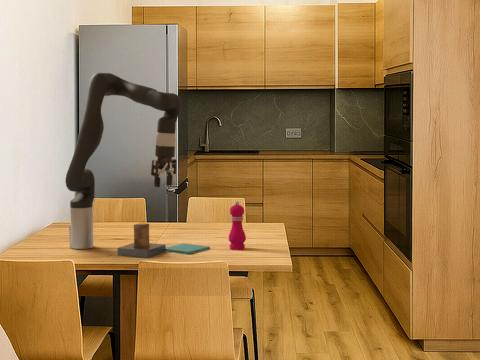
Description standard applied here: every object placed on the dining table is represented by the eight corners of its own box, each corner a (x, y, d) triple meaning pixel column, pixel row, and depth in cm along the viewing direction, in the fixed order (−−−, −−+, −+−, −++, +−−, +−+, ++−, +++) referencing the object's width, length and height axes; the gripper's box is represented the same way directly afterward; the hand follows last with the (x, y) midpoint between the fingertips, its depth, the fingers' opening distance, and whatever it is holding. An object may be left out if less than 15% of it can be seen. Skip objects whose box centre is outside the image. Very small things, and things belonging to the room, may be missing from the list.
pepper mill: (237, 250, 315) (237, 202, 313) (224, 248, 320) (224, 201, 318) (249, 248, 320) (249, 200, 319) (236, 246, 325) (236, 199, 323)
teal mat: (162, 250, 316) (162, 248, 316) (183, 245, 328) (183, 243, 328) (188, 254, 308) (188, 251, 308) (209, 248, 320) (209, 246, 320)
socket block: (117, 255, 307) (117, 247, 307) (136, 249, 320) (136, 242, 320) (147, 258, 301) (147, 250, 301) (165, 251, 314) (165, 244, 314)
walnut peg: (134, 254, 310) (133, 224, 308) (140, 252, 313) (139, 223, 312) (143, 254, 308) (143, 225, 307) (149, 253, 312) (149, 223, 310)
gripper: (167, 143, 305) (165, 184, 307) (147, 144, 293) (144, 186, 294) (183, 145, 302) (181, 186, 303) (163, 145, 289) (161, 188, 291)
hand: (163, 186), depth 299 cm, fingers open, 8 cm apart
